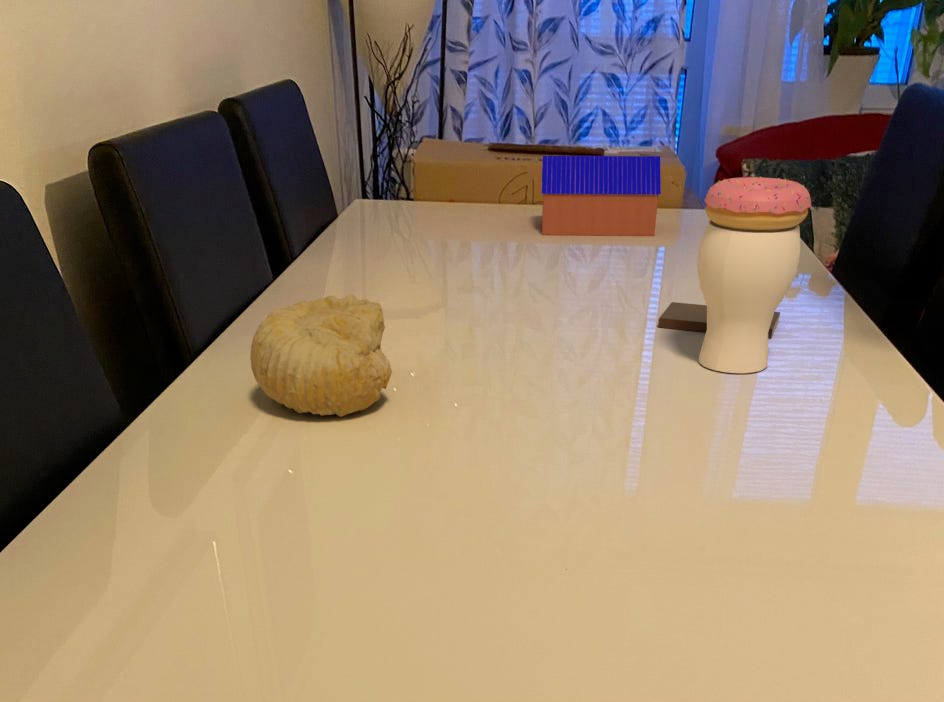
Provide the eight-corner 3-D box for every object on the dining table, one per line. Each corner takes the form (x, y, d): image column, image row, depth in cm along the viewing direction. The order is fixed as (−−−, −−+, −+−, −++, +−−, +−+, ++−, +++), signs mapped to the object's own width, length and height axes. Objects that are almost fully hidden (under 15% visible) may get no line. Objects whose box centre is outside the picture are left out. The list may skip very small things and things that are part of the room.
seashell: (237, 434, 103) (351, 429, 95) (203, 329, 98) (321, 314, 90) (331, 385, 115) (439, 377, 107) (306, 290, 110) (417, 273, 102)
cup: (800, 366, 112) (826, 226, 104) (735, 385, 107) (757, 238, 99) (730, 343, 119) (749, 210, 111) (666, 359, 114) (681, 221, 106)
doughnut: (804, 215, 108) (812, 173, 106) (810, 236, 99) (818, 191, 97) (703, 211, 110) (708, 170, 108) (700, 232, 101) (705, 187, 99)
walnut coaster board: (778, 321, 127) (780, 312, 126) (771, 339, 121) (772, 329, 120) (670, 311, 131) (671, 301, 131) (657, 327, 125) (658, 317, 124)
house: (540, 221, 181) (542, 150, 175) (650, 222, 180) (656, 151, 173) (540, 235, 171) (542, 161, 165) (656, 236, 170) (663, 161, 163)
